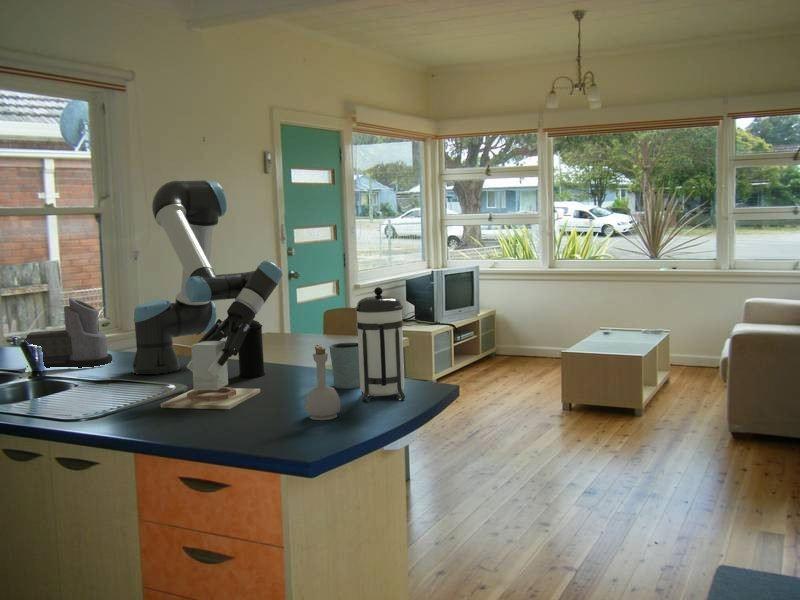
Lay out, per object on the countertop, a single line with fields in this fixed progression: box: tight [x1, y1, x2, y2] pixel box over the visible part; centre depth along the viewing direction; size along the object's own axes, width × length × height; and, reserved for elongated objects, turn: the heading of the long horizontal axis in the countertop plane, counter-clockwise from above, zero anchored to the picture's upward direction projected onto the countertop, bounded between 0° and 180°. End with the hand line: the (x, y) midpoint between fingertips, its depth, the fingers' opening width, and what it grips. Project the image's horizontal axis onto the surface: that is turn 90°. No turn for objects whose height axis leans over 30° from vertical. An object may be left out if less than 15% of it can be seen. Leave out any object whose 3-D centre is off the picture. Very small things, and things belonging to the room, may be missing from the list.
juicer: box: [24, 297, 113, 368], centre depth 283 cm, size 30×16×24 cm, turn 104°
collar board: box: [160, 386, 261, 410], centre depth 222 cm, size 20×20×2 cm
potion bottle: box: [304, 344, 342, 421], centre depth 198 cm, size 9×9×18 cm
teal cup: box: [329, 342, 360, 389], centre depth 234 cm, size 10×10×12 cm
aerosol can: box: [237, 319, 266, 379], centre depth 254 cm, size 8×8×20 cm
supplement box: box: [190, 340, 229, 390], centre depth 221 cm, size 7×7×13 cm
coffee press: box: [354, 286, 406, 403], centre depth 215 cm, size 17×16×30 cm
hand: (200, 371), depth 219 cm, fingers closed on supplement box, 10 cm apart
